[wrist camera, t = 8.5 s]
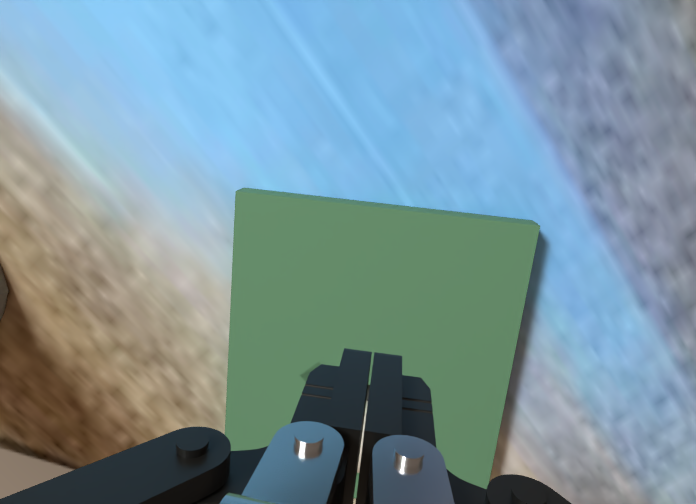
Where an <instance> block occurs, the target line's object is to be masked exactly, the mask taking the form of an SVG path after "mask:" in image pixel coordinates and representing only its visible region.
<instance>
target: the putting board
mask: <svg viewBox="0 0 696 504" xmlns="http://www.w3.org/2000/svg"><path fill="white" fill-rule="evenodd" d="M539 229H540V225H538V224H537V223H535V222H534V221H532V220H524V219H515V218H506V217H497V216H488V215H480V214H471V213H462V212H453V211H444V210H435V209H427V208H418V207H409V206H400V205H391V204H383V203H374V202H365V201H356V200H347V199H339V198H330V197H321V196H312V195H303V194H294V193H286V192H277V191H268V190H259V189H250V188H242V189H240V190H237V191H236V197H235V219H234V242H233V264H232V287H231V309H230V332H229V354H228V377H227V399H226V422H225V436H226V437H227V438H228V439H229V441H230V444H231V451H240V450H253V449H259V448H263V447H266V446H269V444H270V442H271V440H272V439H273V437H274V435H275V434H276V432H277V431H278V430H279V429H280V428H282V427H284V426H286V425H288V424H290V423H291V420H292V418H293V415H294V412H295V410H296V407H297V404H298V402H299V399H300V397H301V395H302V391H303V389H304V386H305V383H306V381H307V378H308V376H309V373H310V372H311V371H312V370H314V369H315V368H317V367H318V366H319V365H321V364H325V365H332V366H340V362H341V358H342V354H343V351H344V348H347V349H354V350H362V351H369V352H372V356H371V365H370V373H369V382H368V390H367V399H366V400H367V401H368V398H369V390H370V382H371V375H372V367H373V359H374V352H377V353H385V354H392V355H400V356H402V375H406V376H413V377H420V378H422V379H423V381H424V382H425V383H426V384H427V386H428V387H429V388H430V389H431V399H432V403H431V404H432V409H433V419H434V429H435V439H436V448H437V449H438V450H439V451H440V452H441V454H442V456H443V458H444V461H445V465H446V469H447V470H449V471H450V472H451V473H452V474H454V475H455V476H457V477H458V478H460V479H462V480H464V481H466V482H469V483H471V484H474V485H476V486H479V487H481V488H484V489H487V486H488V484H489V480H490V475H491V470H492V465H493V460H494V455H495V450H496V445H497V440H498V435H499V430H500V425H501V420H502V415H503V410H504V405H505V400H506V395H507V390H508V385H509V380H510V375H511V370H512V365H513V359H514V354H515V349H516V344H517V339H518V334H519V329H520V324H521V319H522V314H523V309H524V304H525V299H526V294H527V289H528V284H529V279H530V274H531V269H532V264H533V259H534V254H535V249H536V244H537V239H538V234H539ZM358 480H359V473H357V476H356V484H355V491H354V498H356V497H357V488H358Z"/></svg>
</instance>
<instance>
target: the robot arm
mask: <svg viewBox="0 0 696 504" xmlns="http://www.w3.org/2000/svg"><path fill="white" fill-rule="evenodd" d="M371 356H372V352H369V351H362V350H354V349H347V348H344V351H343V354H342V358H341V362H340V366H332V365H325V364H321V365H319V366H318V367H317V368H315V369H314V370H312V371H311V372H310V373H309V376H308V378H307V381H306V383H305V386H304V389H303V391H302V395H301V397H300V399H299V402H298V404H297V407H296V410H295V412H294V415H293V418H292V420H291V423H290V424H288V425H286V426H284V427H282V428H280V429H279V430H278V431H277V432H276V434H275V435H274V437H273V439H272V440H271V442H270V444H269V446H266V447H263V448H259V449H253V450H240V451H231V444H230V441H229V439H228V438H227V437H226V436H225V435H224V434H223V433H221V432H220V431H217V430H215V429H212V428H207V427H188V428H183V429H179V430H176V431H173V432H171V433H168V434H165V435H163V436H160V437H158V438H155V439H153V440H150V441H148V442H145V443H142V444H140V445H137V446H135V447H132V448H130V449H127V450H125V451H122V452H119V453H117V454H114V455H112V456H109V457H107V458H104V459H102V460H99V461H97V462H94V463H91V464H89V465H86V466H84V467H81V468H79V469H76V470H74V471H71V472H68V473H66V474H63V475H61V476H58V477H56V478H53V479H51V480H48V481H46V482H43V483H40V484H38V485H35V486H33V487H30V488H28V489H25V490H23V491H20V492H17V493H15V494H12V495H10V496H7V497H5V498H2V499H0V504H353V499H354V491H355V484H356V476H357V469H358V462H359V454H360V447H361V439H362V432H363V424H364V416H365V408H366V399H367V390H368V382H369V373H370V365H371ZM431 403H432V399H431V389H430V388H429V387H428V386H427V384H426V383H425V382H424V381H423V379H422V378H420V377H413V376H406V375H402V356H400V355H392V354H385V353H377V352H374V359H373V367H372V375H371V382H370V390H369V398H368V405H367V413H366V421H365V429H364V437H363V446H362V454H361V463H360V471H359V480H358V488H357V497H356V504H571V503H570V502H569V501H567V500H566V499H565V498H563V497H562V496H561V495H559V494H558V493H557V492H555V491H554V490H553V489H551V488H550V487H548V486H547V485H545V484H543V483H541V482H539V481H537V480H535V479H532V478H529V477H525V476H521V475H501V476H498V477H496V478H494V479H492V480H491V481H490V482H489V484H488V486H487V489H484V488H481V487H479V486H476V485H474V484H471V483H469V482H466V481H464V480H462V479H460V478H458V477H457V476H455V475H454V474H452V473H451V472H450V471H449V470H447V469H446V465H445V461H444V458H443V456H442V454H441V452H440V451H439V450H438V449H437V448H436V439H435V429H434V419H433V409H432V404H431Z"/></svg>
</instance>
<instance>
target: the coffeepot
mask: <svg viewBox="0 0 696 504" xmlns="http://www.w3.org/2000/svg"><path fill="white" fill-rule="evenodd" d="M8 292H9V291H8V287H7V284H6V280H5V276H4V274H3V271H2V268H1V265H0V320H1V318H2V316H3V314H4V310H5V306H6V302H7V294H8Z"/></svg>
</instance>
